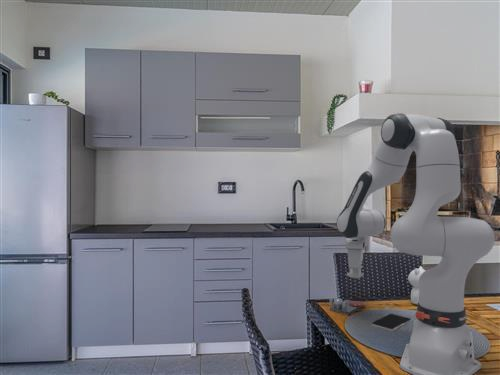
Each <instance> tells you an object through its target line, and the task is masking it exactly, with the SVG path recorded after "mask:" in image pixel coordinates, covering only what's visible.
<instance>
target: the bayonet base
mask: <svg viewBox="0 0 500 375" xmlns="http://www.w3.org/2000/svg"><path fill="white" fill-rule="evenodd" d="M329 306H330V307H329V311H330V312H334V313H338V314H339V313H340V314H342V315H347V316H350V315H351V314H354V313H356V311H359V310H360V309H362V308H363V307H366V303H365V302H364V301H361V300H350V299H344V300H343V299H342V298H339V297H336V298H329Z"/></svg>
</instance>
